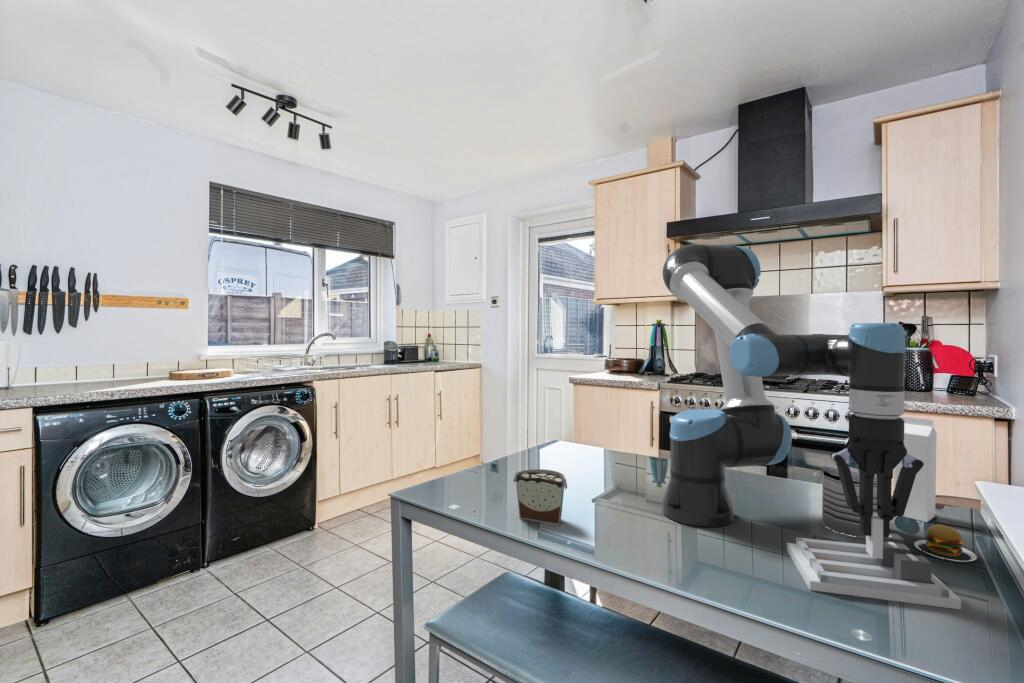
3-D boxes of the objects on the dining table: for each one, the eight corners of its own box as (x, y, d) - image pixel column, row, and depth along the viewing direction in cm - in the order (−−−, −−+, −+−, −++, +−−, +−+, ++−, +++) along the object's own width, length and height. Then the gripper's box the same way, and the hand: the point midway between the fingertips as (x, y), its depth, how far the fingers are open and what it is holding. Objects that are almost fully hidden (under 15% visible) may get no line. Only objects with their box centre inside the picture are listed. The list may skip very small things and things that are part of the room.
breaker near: (900, 585, 78) (900, 558, 78) (893, 577, 80) (893, 552, 80) (930, 588, 77) (931, 561, 77) (922, 581, 79) (923, 555, 79)
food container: (574, 516, 112) (574, 472, 112) (565, 526, 107) (565, 479, 106) (524, 508, 117) (524, 466, 117) (513, 517, 112) (513, 473, 111)
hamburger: (960, 575, 86) (960, 544, 86) (888, 546, 97) (889, 519, 97) (1004, 565, 90) (1005, 535, 90) (930, 538, 101) (931, 512, 101)
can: (828, 514, 113) (829, 461, 113) (890, 528, 105) (891, 471, 105) (814, 528, 105) (814, 471, 105) (880, 544, 97) (881, 483, 97)
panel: (809, 590, 80) (810, 573, 80) (786, 550, 95) (787, 536, 94) (960, 609, 74) (961, 591, 74) (912, 564, 89) (912, 549, 89)
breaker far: (876, 559, 87) (876, 535, 87) (870, 553, 89) (870, 530, 89) (903, 562, 86) (903, 538, 86) (897, 556, 88) (897, 533, 88)
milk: (927, 522, 108) (929, 421, 108) (893, 514, 113) (895, 417, 112) (935, 516, 112) (937, 418, 111) (902, 508, 117) (904, 414, 116)
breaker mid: (881, 571, 83) (882, 545, 83) (875, 564, 85) (876, 540, 85) (910, 574, 82) (910, 548, 81) (903, 567, 84) (903, 542, 84)
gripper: (839, 416, 82) (837, 559, 82) (934, 420, 78) (932, 570, 78) (824, 409, 89) (823, 541, 89) (911, 413, 85) (909, 550, 86)
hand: (874, 554), depth 84 cm, fingers closed
